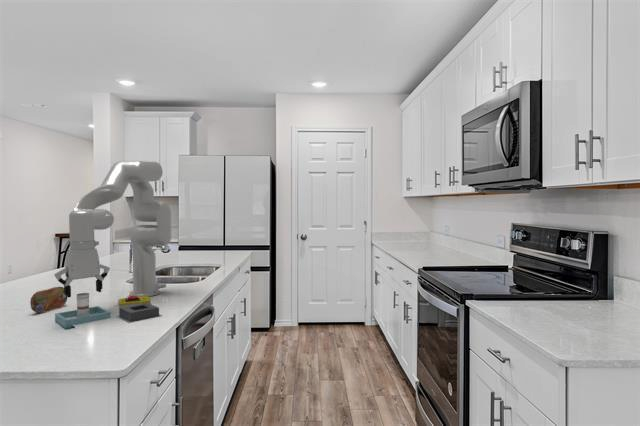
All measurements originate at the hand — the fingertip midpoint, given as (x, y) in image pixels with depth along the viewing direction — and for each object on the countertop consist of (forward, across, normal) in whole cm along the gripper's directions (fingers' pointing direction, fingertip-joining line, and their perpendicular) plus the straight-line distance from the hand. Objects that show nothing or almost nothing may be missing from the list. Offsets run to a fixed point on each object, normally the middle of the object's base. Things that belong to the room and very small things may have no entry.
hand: (83, 294), depth 144 cm
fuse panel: (+10, -14, +12) cm, 21 cm away
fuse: (+9, +1, +1) cm, 9 cm away
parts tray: (+10, +1, +1) cm, 10 cm away
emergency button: (+11, -21, -7) cm, 24 cm away
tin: (+10, +5, -25) cm, 28 cm away
